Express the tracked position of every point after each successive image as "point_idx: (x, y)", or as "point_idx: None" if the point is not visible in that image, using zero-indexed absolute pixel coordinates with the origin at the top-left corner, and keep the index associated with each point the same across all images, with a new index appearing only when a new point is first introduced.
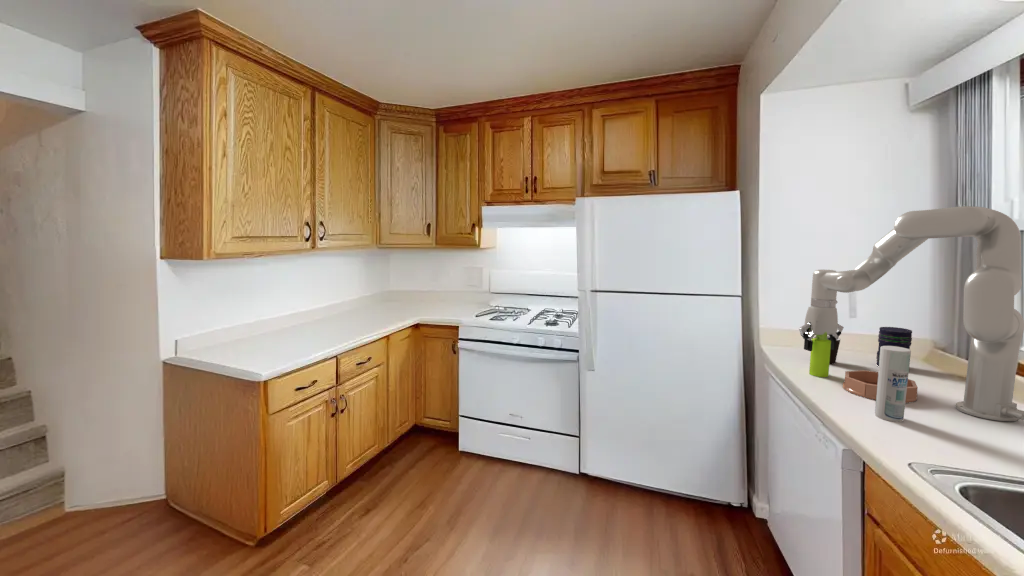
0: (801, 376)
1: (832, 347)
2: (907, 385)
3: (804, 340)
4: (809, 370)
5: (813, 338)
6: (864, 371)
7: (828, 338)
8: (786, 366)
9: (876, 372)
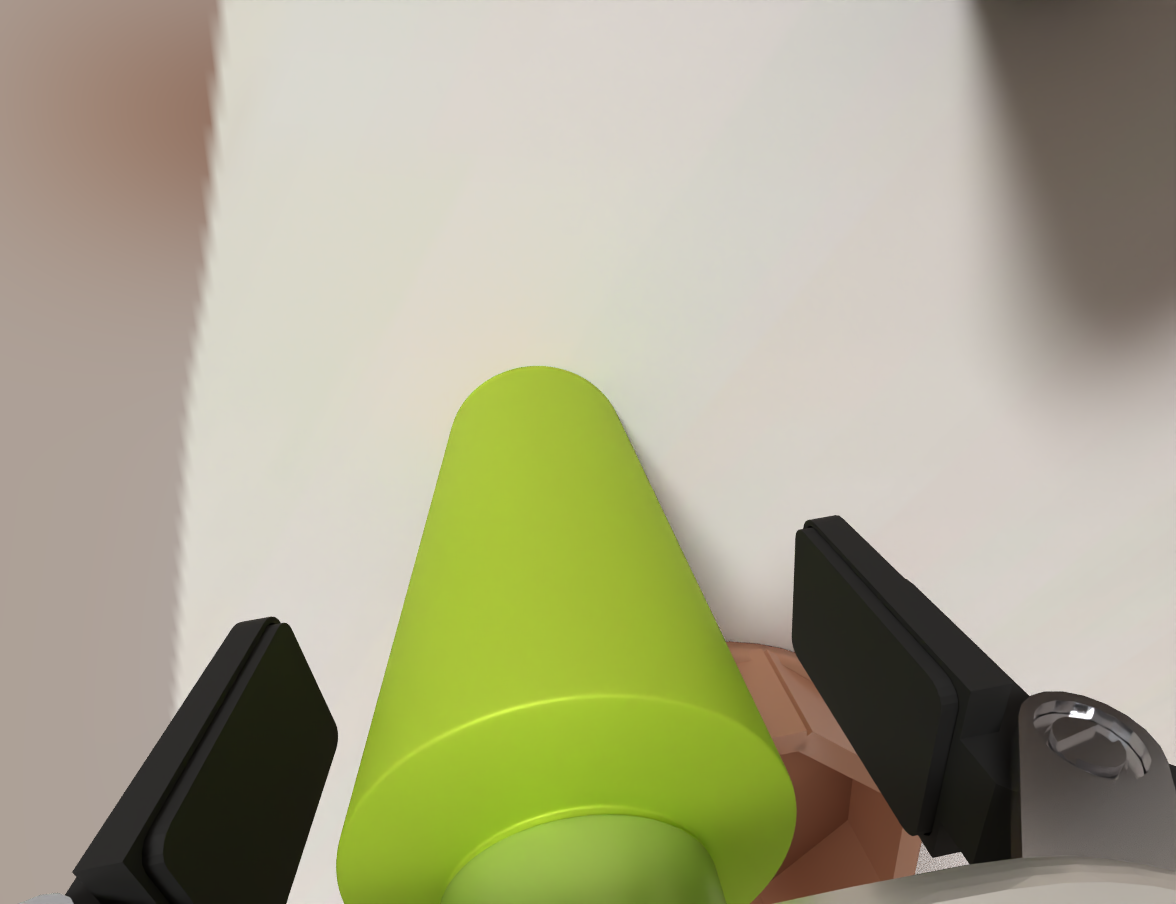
0: (317, 504)
1: (812, 647)
2: (867, 843)
3: (73, 884)
4: (450, 432)
5: (442, 776)
6: (782, 751)
7: (935, 701)
8: (312, 66)
9: (848, 775)
